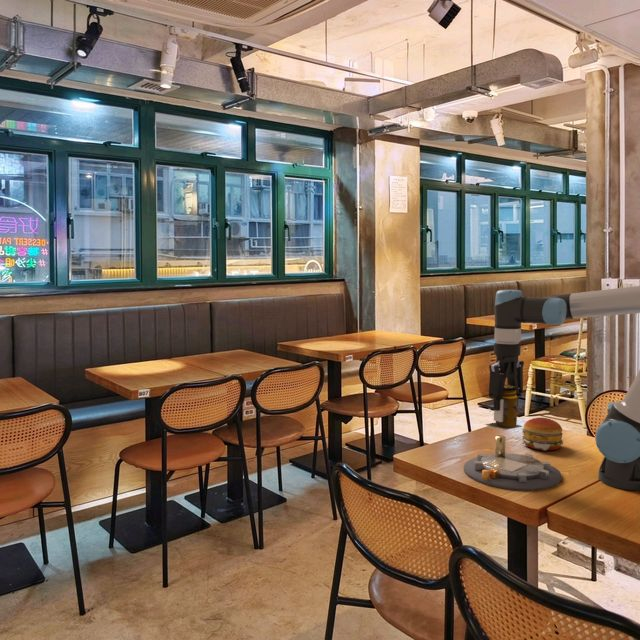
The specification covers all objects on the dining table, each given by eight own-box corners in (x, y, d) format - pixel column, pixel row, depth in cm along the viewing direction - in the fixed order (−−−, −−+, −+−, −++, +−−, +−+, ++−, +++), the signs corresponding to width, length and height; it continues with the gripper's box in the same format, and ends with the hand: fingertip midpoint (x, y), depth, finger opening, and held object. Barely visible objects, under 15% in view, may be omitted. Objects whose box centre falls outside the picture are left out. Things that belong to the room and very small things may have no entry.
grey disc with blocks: (524, 455, 200) (525, 430, 199) (566, 478, 178) (567, 451, 178) (461, 460, 195) (461, 435, 194) (497, 485, 173) (498, 457, 172)
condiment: (523, 426, 184) (524, 386, 182) (503, 431, 179) (504, 390, 178) (503, 421, 190) (504, 382, 188) (484, 425, 185) (485, 385, 184)
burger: (560, 442, 218) (561, 415, 217) (565, 454, 205) (566, 425, 204) (520, 440, 221) (521, 412, 220) (523, 451, 208) (524, 422, 207)
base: (579, 475, 184) (580, 464, 184) (525, 498, 167) (526, 485, 167) (500, 452, 206) (500, 442, 206) (444, 470, 189) (445, 459, 188)
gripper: (516, 338, 191) (514, 412, 193) (476, 343, 180) (474, 421, 182) (537, 340, 185) (535, 416, 187) (497, 346, 174) (495, 427, 176)
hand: (505, 419), depth 185 cm, fingers closed on condiment, 6 cm apart
